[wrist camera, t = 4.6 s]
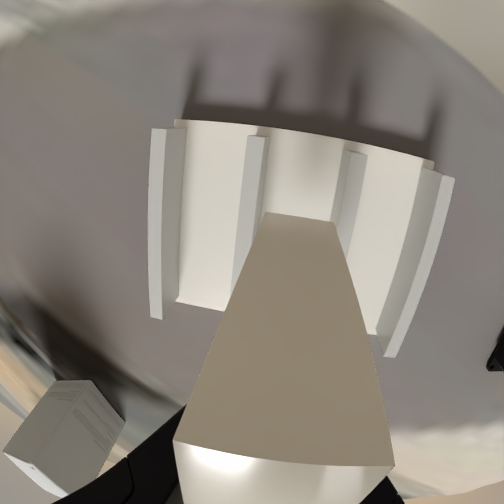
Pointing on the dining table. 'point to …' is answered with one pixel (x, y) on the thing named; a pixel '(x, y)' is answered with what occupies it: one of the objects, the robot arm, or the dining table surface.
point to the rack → (290, 203)
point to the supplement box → (66, 437)
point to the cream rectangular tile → (287, 382)
